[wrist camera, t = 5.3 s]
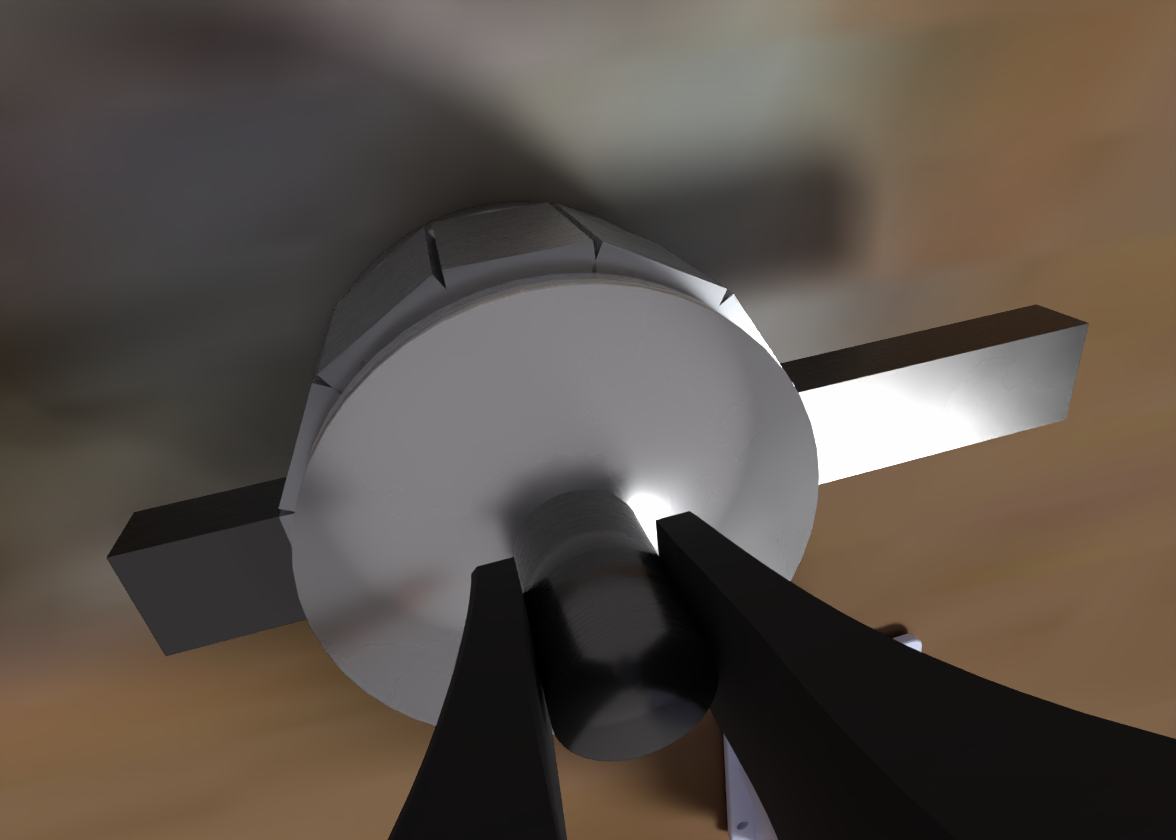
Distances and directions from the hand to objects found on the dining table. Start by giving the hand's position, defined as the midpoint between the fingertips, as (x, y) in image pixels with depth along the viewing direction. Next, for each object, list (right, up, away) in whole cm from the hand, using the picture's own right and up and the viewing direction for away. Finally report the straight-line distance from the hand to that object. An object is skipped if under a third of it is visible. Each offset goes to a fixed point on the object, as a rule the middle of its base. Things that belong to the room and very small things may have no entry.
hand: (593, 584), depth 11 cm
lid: (-1, +1, +3) cm, 3 cm away
